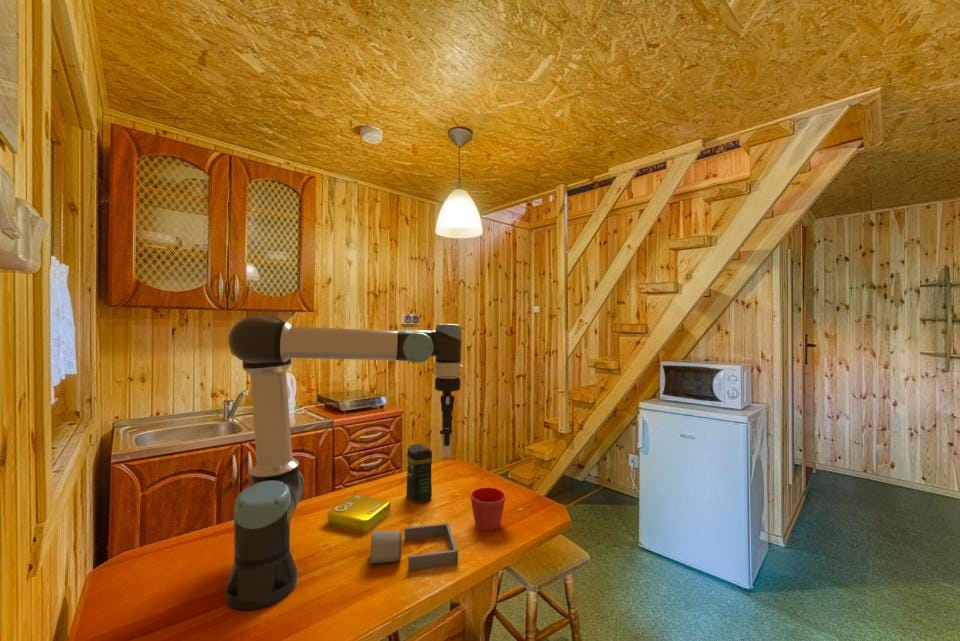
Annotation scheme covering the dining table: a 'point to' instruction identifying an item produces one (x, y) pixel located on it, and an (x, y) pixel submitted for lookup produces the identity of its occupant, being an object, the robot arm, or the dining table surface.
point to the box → (432, 558)
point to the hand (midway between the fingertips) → (446, 448)
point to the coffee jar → (419, 473)
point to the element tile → (358, 513)
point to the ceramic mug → (385, 546)
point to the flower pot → (487, 507)
